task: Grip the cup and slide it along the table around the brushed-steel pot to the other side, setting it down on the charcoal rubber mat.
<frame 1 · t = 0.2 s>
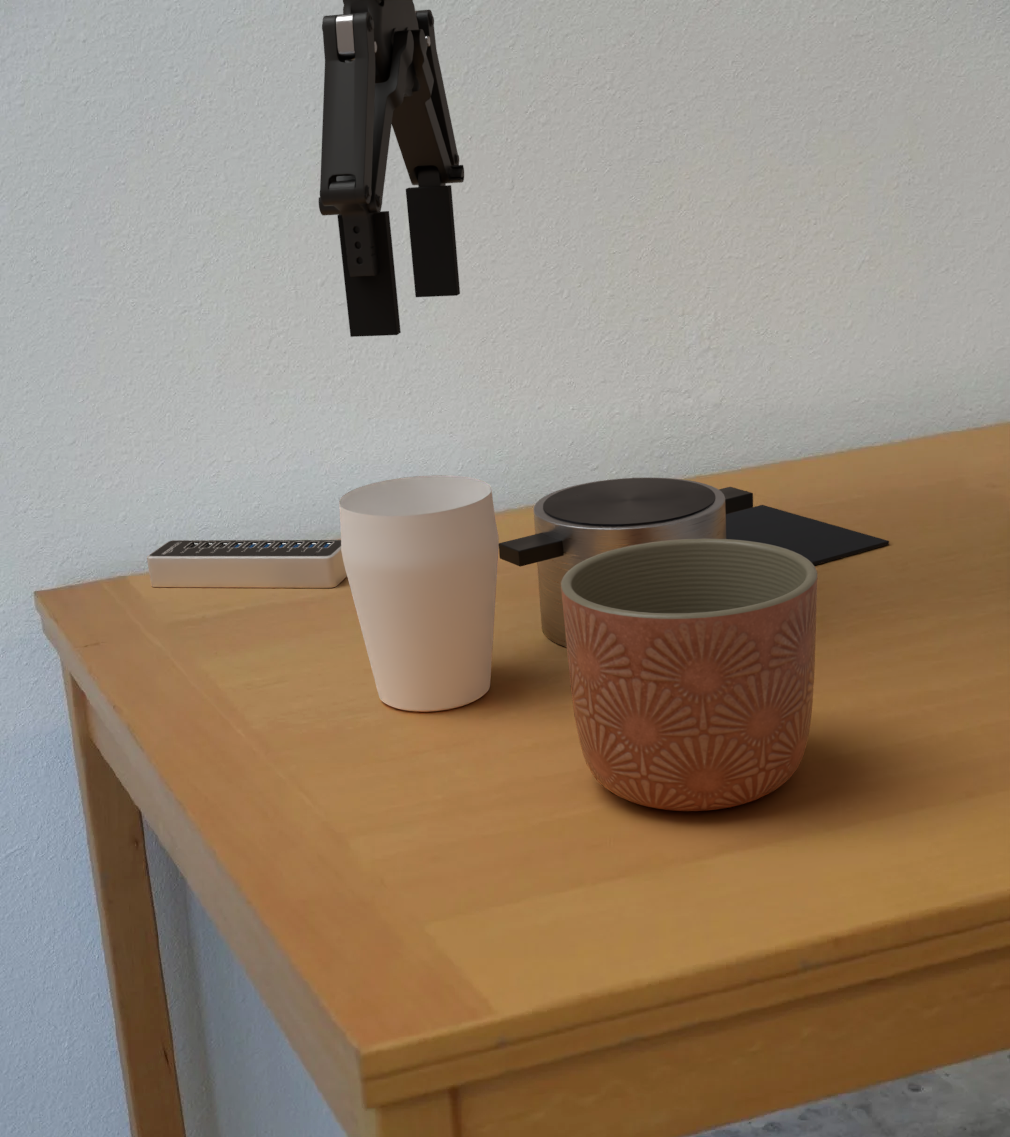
hand: (408, 314, 101), 21 cm above the table, tool pointing down, fingers open, 13 cm apart
steel pot: (634, 622, 110), on the table
cup: (434, 695, 101), on the table
planter: (694, 782, 87), on the table
multiport hub: (252, 580, 125), on the table
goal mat: (749, 545, 124), on the table
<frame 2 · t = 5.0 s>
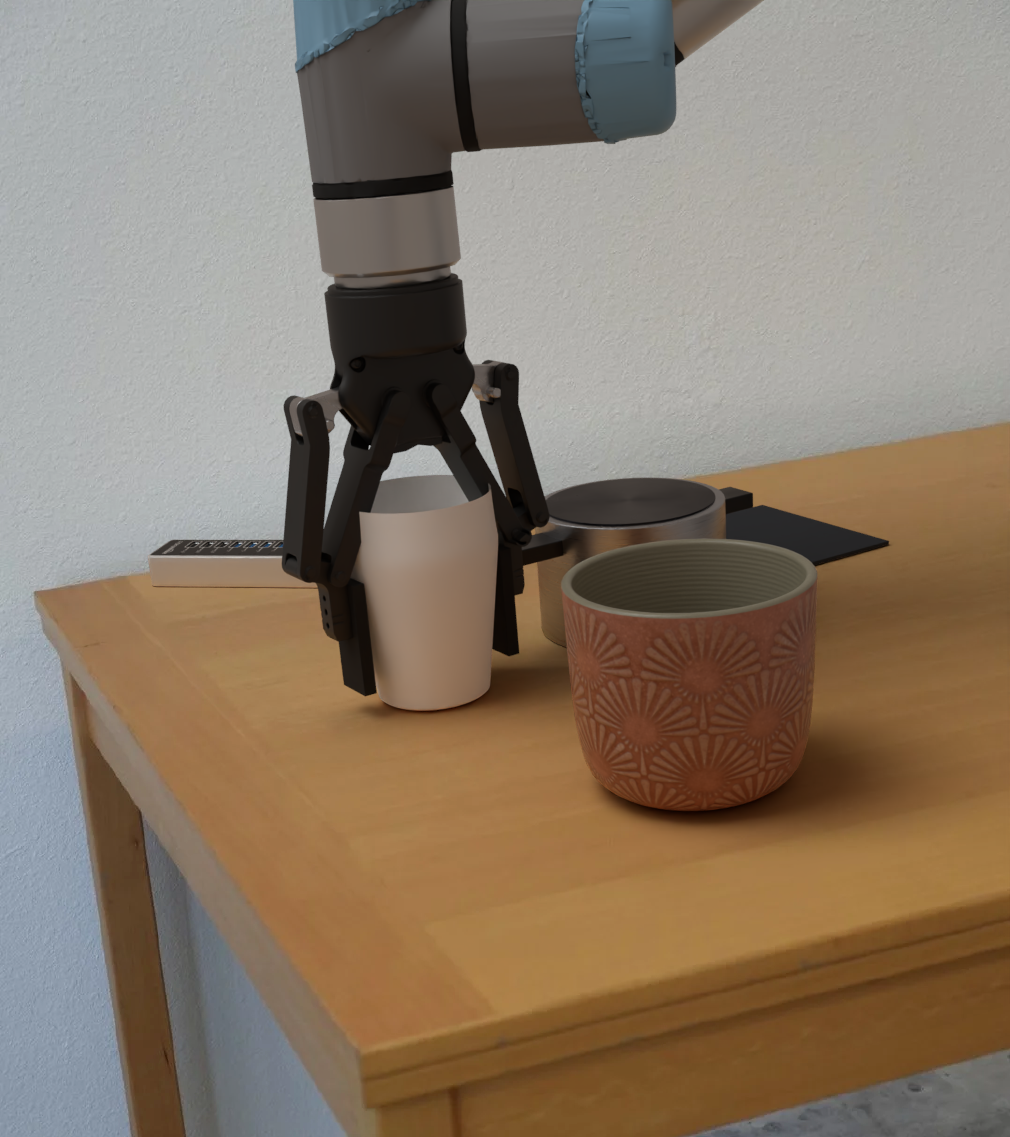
hand: (432, 668, 100), 2 cm above the table, tool pointing down, fingers closed on cup, 9 cm apart
cup: (435, 694, 101), on the table, touching gripper
everything else where it was.
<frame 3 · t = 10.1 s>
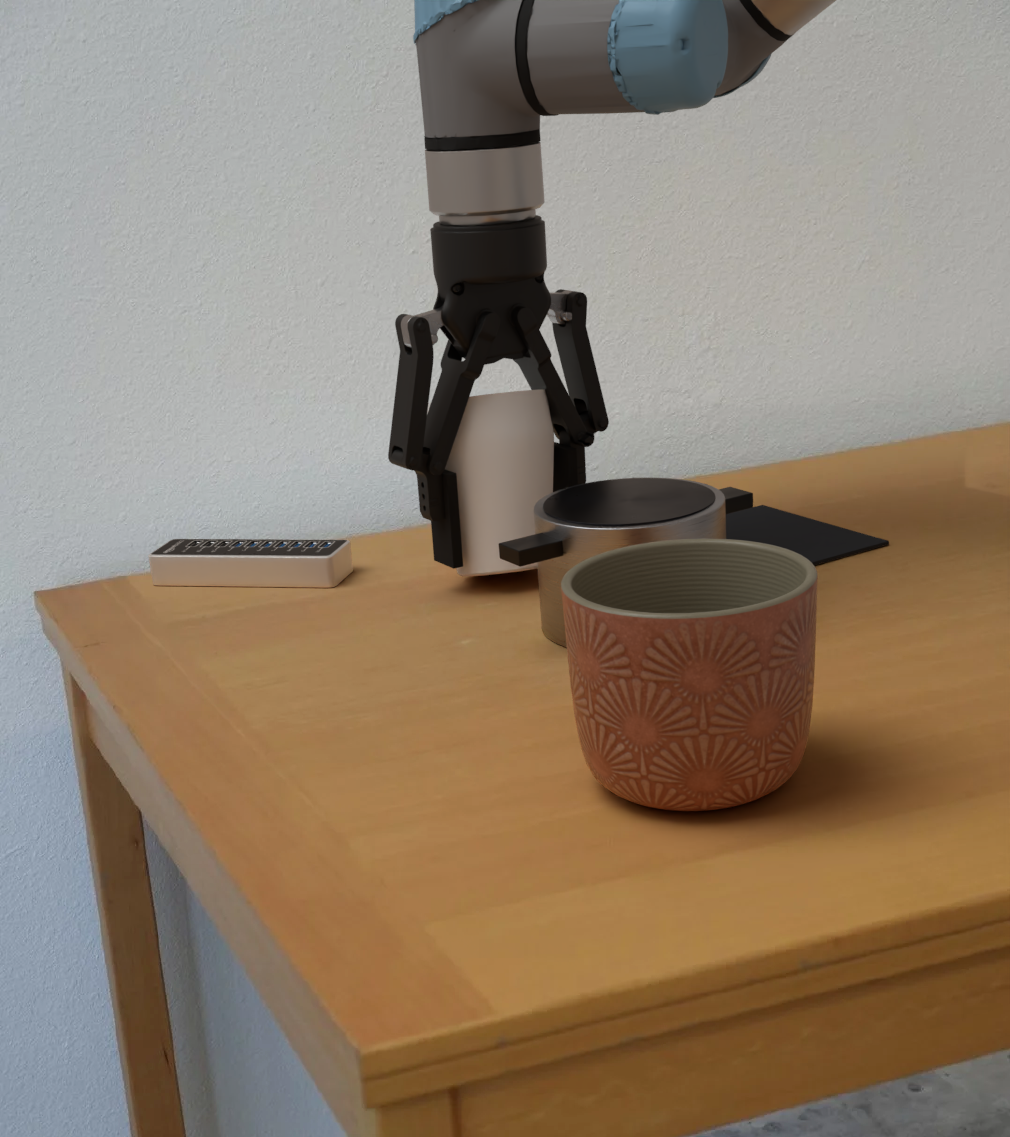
hand: (508, 549, 120), 2 cm above the table, tool pointing down, fingers closed on cup, 9 cm apart
cup: (504, 573, 120), point 1 cm above the table, touching gripper
everything else where it was.
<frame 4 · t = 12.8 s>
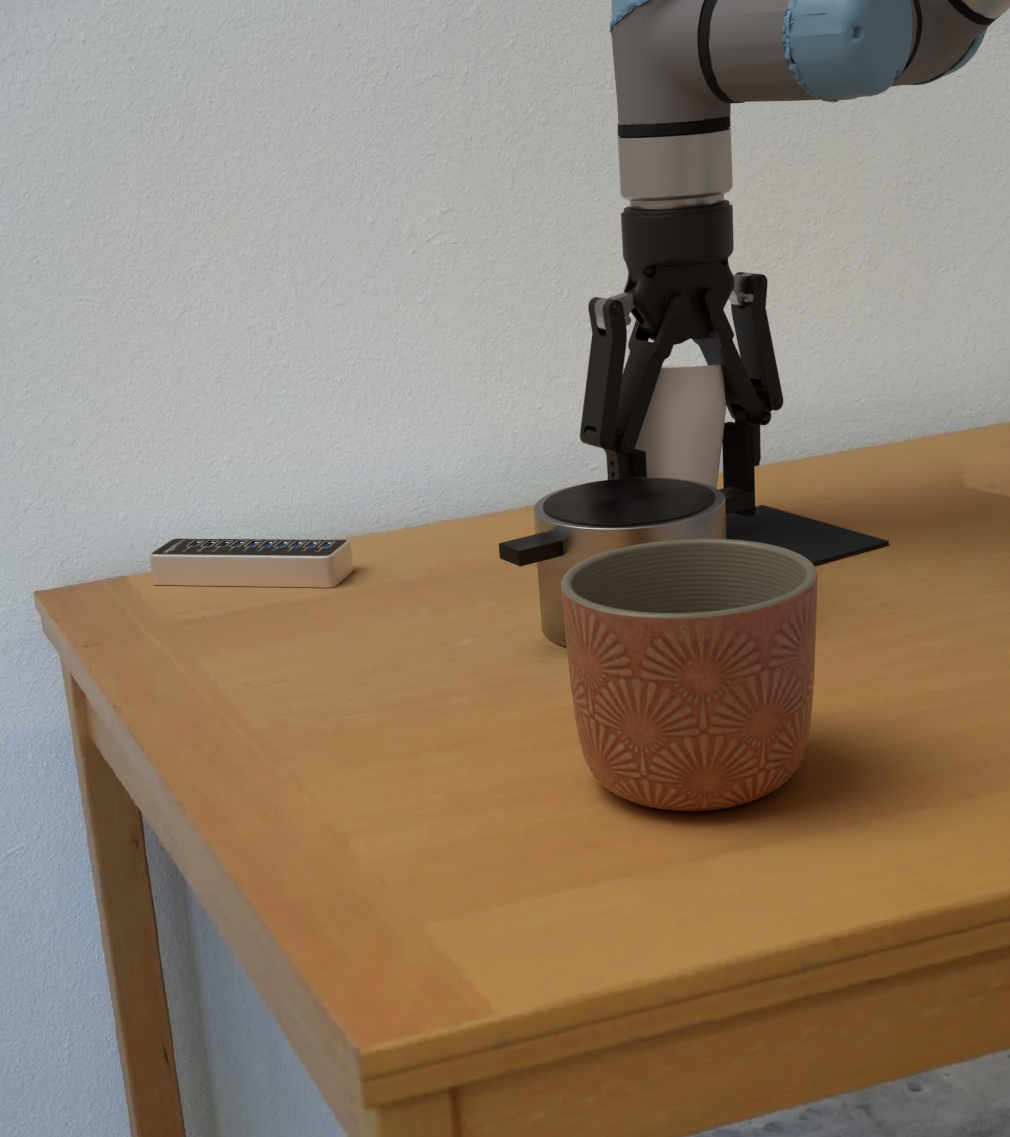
hand: (687, 525, 123), 2 cm above the table, tool pointing down, fingers closed on cup, 9 cm apart
cup: (666, 537, 125), point 1 cm above the table, touching gripper
everything else where it was.
when the fingers open (2 cm above the table, at t = 14.3 s): cup stays where it is, resting on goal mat.
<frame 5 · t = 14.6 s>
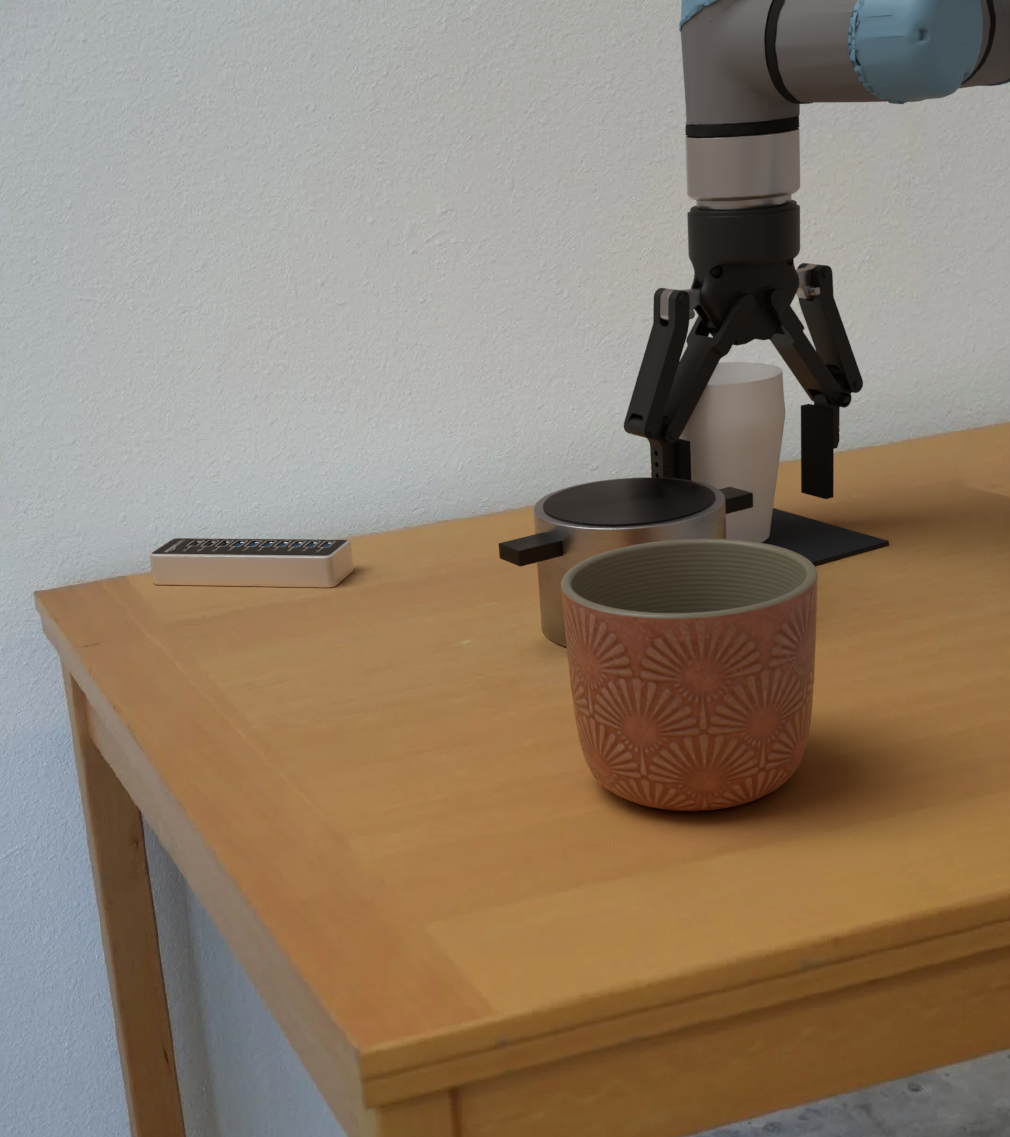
hand: (748, 513, 123), 2 cm above the table, tool pointing down, fingers open, 12 cm apart
cup: (723, 541, 124), resting on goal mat
everything else where it was.
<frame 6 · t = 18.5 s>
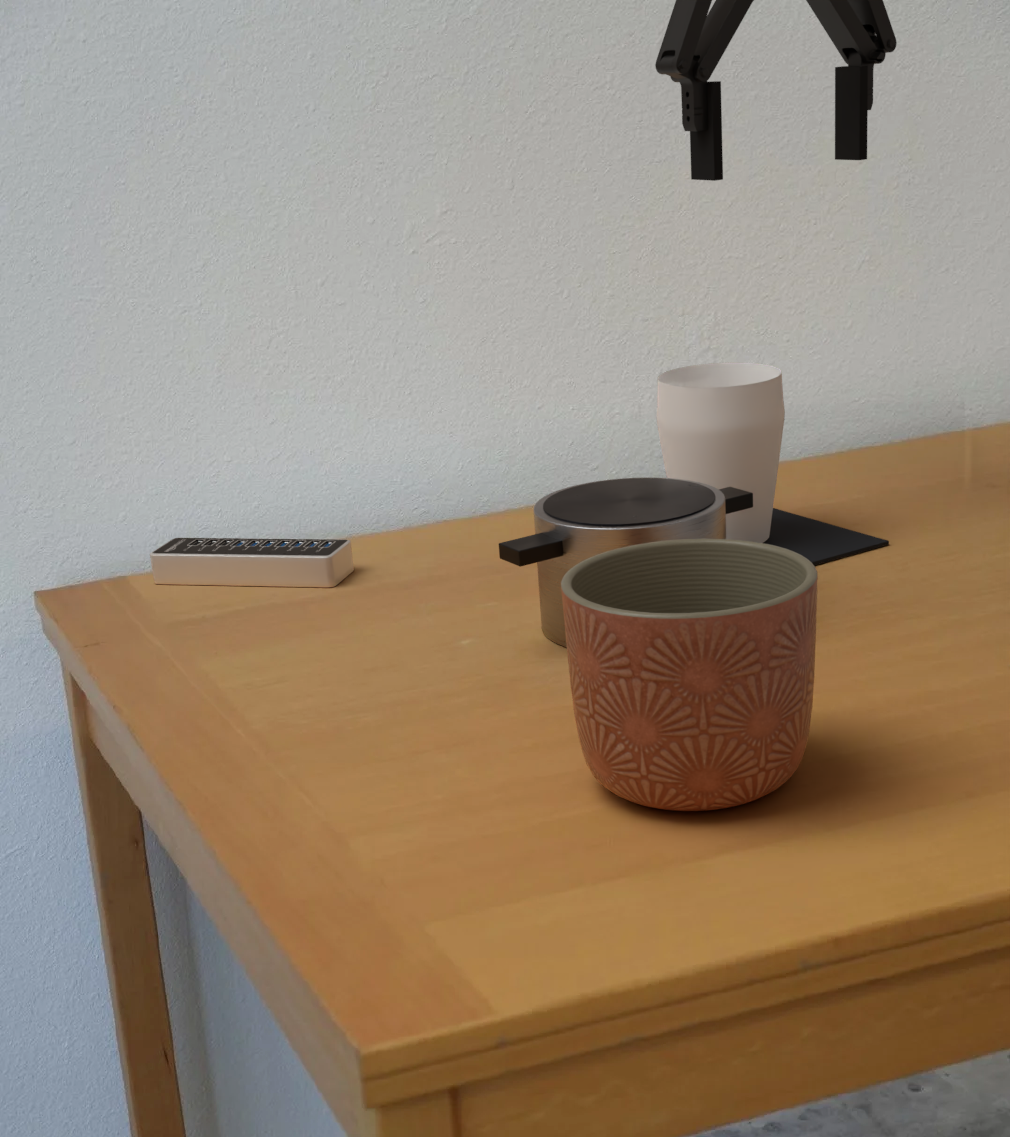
hand: (780, 170, 125), 25 cm above the table, tool pointing down, fingers open, 13 cm apart
nothing on the table moved.
at the end: cup inside the target area on the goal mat (2.0 cm from its centre), point 0.1 cm above the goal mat's base; cup tilted 0°; the gripper is holding nothing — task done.
